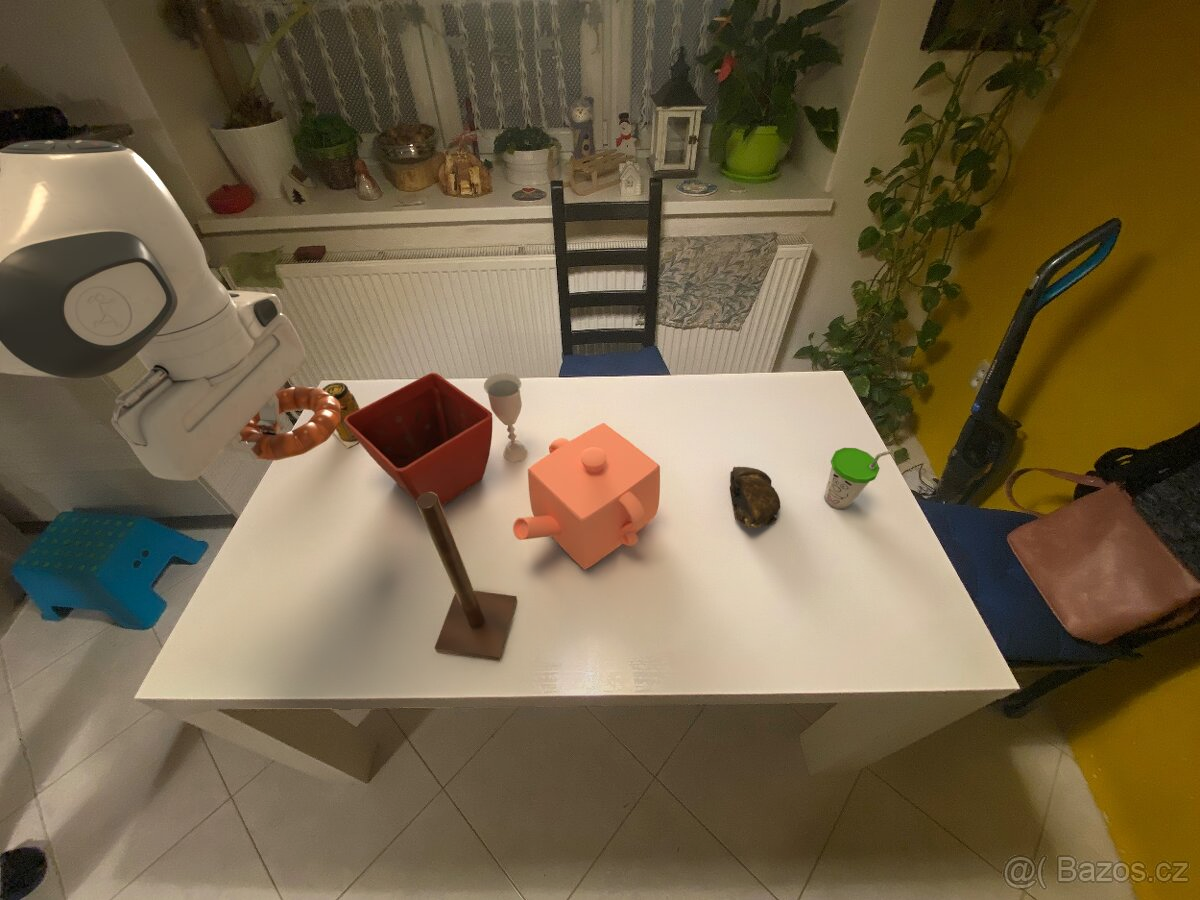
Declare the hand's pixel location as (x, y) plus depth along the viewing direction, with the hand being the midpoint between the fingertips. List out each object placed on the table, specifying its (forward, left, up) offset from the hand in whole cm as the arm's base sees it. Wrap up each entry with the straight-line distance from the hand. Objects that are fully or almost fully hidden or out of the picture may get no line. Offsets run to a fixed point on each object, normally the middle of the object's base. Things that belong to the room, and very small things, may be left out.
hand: (264, 444), depth 57 cm
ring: (+4, 0, -1) cm, 4 cm away
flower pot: (+27, -1, -37) cm, 46 cm away
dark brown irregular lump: (+29, -62, -37) cm, 78 cm away
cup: (+32, -78, -37) cm, 92 cm away
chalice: (+36, -14, -37) cm, 54 cm away
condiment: (+38, +22, -37) cm, 57 cm away
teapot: (+18, -31, -37) cm, 52 cm away
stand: (-1, -18, -37) cm, 41 cm away
